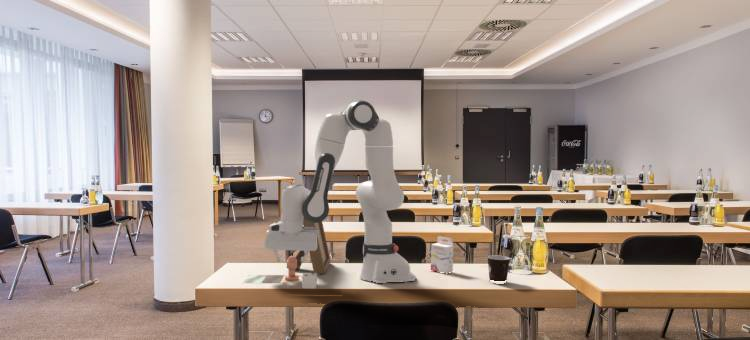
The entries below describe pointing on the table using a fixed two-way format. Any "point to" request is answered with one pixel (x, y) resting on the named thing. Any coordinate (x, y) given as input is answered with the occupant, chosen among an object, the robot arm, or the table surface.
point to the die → (309, 280)
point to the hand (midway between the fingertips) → (290, 261)
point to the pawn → (291, 269)
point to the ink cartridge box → (442, 255)
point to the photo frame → (317, 250)
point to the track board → (269, 279)
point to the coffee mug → (498, 267)
